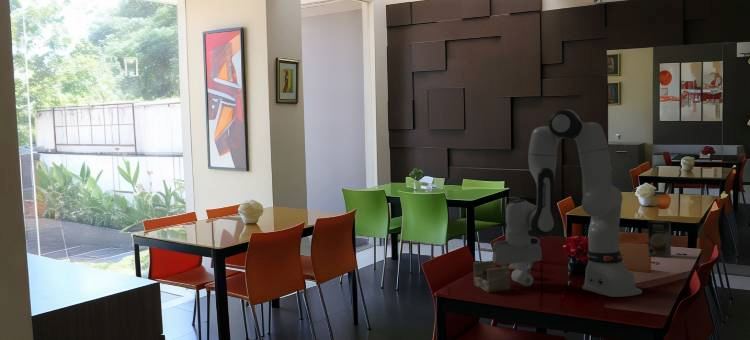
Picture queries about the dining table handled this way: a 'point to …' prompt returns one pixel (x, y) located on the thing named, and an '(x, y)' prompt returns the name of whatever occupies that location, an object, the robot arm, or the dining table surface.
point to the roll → (522, 277)
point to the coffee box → (659, 238)
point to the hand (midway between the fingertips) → (517, 273)
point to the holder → (491, 276)
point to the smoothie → (521, 266)
